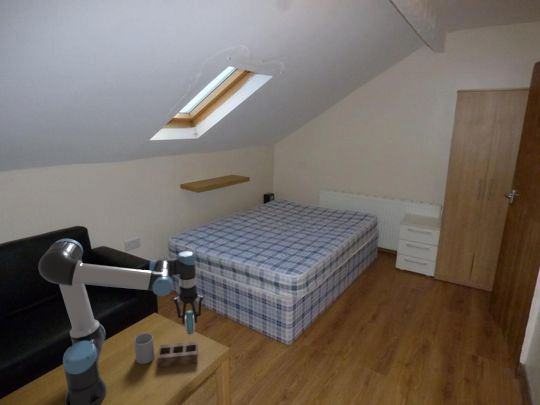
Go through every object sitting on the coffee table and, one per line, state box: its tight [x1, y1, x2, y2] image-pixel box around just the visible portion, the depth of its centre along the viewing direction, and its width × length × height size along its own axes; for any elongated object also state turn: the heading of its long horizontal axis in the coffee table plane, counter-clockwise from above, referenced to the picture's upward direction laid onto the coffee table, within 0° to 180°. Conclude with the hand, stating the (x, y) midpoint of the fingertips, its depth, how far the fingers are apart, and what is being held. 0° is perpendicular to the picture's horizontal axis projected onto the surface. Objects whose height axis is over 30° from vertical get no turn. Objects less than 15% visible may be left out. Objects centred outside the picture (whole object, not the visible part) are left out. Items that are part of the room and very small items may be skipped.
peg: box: [185, 309, 195, 335], centre depth 159 cm, size 3×3×11 cm
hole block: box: [157, 341, 199, 368], centre depth 162 cm, size 18×9×5 cm, turn 100°
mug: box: [133, 332, 155, 365], centre depth 163 cm, size 12×8×11 cm
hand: (190, 328), depth 160 cm, fingers closed on peg, 3 cm apart
